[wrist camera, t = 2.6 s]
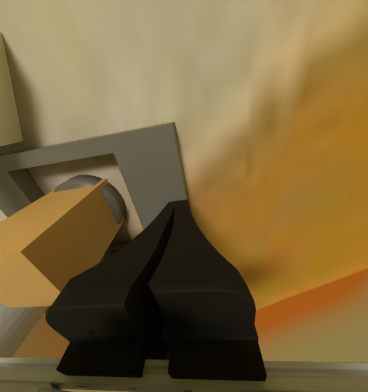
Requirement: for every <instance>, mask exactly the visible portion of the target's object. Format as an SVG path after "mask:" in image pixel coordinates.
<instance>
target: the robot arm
mask: <svg viewBox="0 0 368 392" xmlns="http://www.w3.org/2000/svg"><path fill="white" fill-rule="evenodd" d="M47 308H48V306H39V307H12V308H8V307H6V306H5V305H4V304H2V303H1V302H0V392H69V391H63V390H61V389H83V390H106V391H107V390H108V391H129V392H368V362H299V361H298V362H297V361H263V359H262V355H261V352H260V348H259V344H258V335H257V332H256V329H255V324H254V323H255V313H256V308H255V303H254V300H253V298H252V295H251V293H250V291H249V289H248V287H247V285H246V283H245V282H244V280H243V278H242V276H241V275H240V273H239V272H238V270H237V269H236V268H235V267H234V266H233V265H232V264H230V263H229V262H228V261H227V260H226V259H225V258H224V257H223V256H222V255H221V254H220V253H219V252H218V251H217V250H216V249H215V248H214V247H213V246H212V245H211V244H210V242H209V241H208V240H207V239H206V237H205V236H204V235H203V233H202V232H201V231H200V229H199V228H198V226H197V224H196V222H195V221H194V219H193V217H192V214H191V211H190V206H189V201H188V200H179V201H171V202H168V204H167V205H166V206H165V207H164V208H163V210H162V211H161V212H160V213H159V214H158V215H157V217H156V218H155V219H154V220H153V221H152V222H151V223H150V224H149V225H148V226H147V227H146V228H145V229H144V230H143V231H142V232H141V233H140V234H139V235H138V236H136V237H135V238H134V239H133V240H132V241H130V242H129V243H128V244H126V245H125V246H124V247H122V248H121V249H120V250H118V251H117V252H115V253H114V254H112V255H111V256H109V257H108V258H106V259H105V260H103V261H102V262H100V263H98V264H97V265H95V266H93V267H91V268H89V269H88V270H86V271H84V272H82V273H80V274H79V275H77V276H75V277H73V278H71V279H70V280H69V281H68V282H67V284H66V285H65V287H64V288H63V290H62V291H61V292H60V294H59V295H58V297H57V298H56V299H55V301H54V302H53V304H52V305H51V306H50V308H49V309H48V311H47V312H46V321H47V323H48V324H49V325H50V326H51V327H52V328H53V329H54V330H55V331H57V332H58V333H59V334H61V335H62V336H63V337H65V338H66V339H67V340H69V341H70V344H69V346H68V347H67V349H66V351H65V353H64V355H63V357H62V358H12V356H13V355H14V354H15V352H16V351H17V350H18V348H19V347H20V345H21V344H22V342H23V341H24V340H25V338H26V337H27V336H28V334H29V333H30V331H31V330H32V328H33V327H34V326H35V325H36V323H37V322H38V320H39V319H40V317H41V316H42V315H43V313H44V312H45V311H46V309H47Z"/></svg>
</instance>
